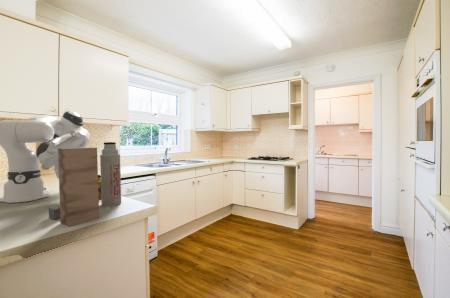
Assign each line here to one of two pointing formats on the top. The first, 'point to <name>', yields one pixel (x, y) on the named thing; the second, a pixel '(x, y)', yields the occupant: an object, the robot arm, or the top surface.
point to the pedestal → (78, 185)
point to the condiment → (99, 187)
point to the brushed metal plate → (54, 213)
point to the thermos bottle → (110, 175)
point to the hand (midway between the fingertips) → (62, 136)
